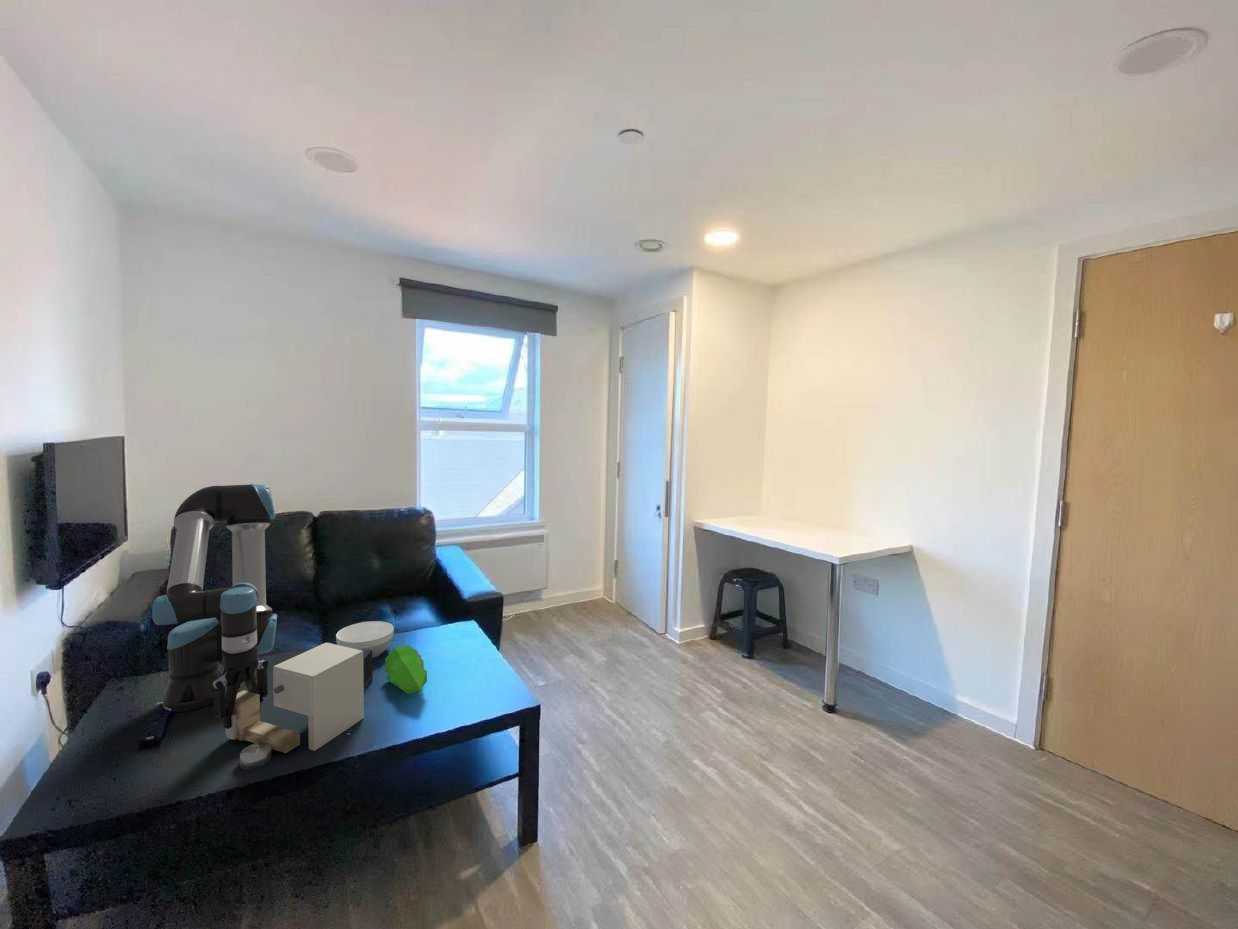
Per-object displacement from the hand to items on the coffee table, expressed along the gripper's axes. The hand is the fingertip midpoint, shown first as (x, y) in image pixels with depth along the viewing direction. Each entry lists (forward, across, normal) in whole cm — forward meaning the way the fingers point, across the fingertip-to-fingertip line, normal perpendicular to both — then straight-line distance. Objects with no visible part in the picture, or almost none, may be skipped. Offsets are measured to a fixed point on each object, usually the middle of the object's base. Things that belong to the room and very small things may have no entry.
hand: (242, 731), depth 138 cm
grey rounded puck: (+2, -5, -12) cm, 13 cm away
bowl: (+2, +50, +9) cm, 51 cm away
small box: (+2, +32, -4) cm, 32 cm away
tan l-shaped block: (0, 0, -8) cm, 8 cm away
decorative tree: (+2, +37, -21) cm, 43 cm away
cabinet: (+2, +11, -15) cm, 19 cm away
